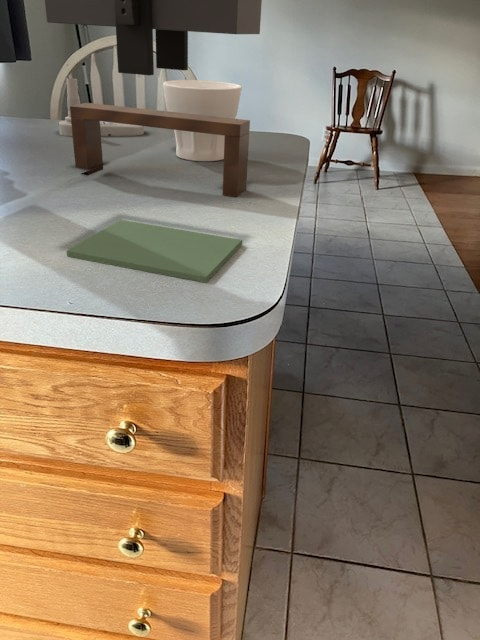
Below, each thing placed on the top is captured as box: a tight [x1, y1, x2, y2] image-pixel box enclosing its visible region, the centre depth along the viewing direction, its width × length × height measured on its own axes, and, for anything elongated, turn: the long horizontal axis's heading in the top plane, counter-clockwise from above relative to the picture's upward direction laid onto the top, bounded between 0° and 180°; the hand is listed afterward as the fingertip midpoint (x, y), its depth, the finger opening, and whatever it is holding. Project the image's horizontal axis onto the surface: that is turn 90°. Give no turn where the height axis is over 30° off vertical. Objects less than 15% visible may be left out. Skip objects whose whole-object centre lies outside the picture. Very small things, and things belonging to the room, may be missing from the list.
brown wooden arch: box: [70, 102, 251, 198], centre depth 73 cm, size 24×4×9 cm, turn 72°
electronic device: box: [58, 77, 145, 137], centre depth 97 cm, size 5×10×15 cm
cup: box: [162, 79, 243, 163], centre depth 88 cm, size 12×12×11 cm
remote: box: [44, 0, 263, 35], centre depth 43 cm, size 16×6×3 cm, turn 72°
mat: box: [66, 219, 243, 283], centre depth 53 cm, size 14×10×1 cm
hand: (155, 70), depth 45 cm, fingers closed on remote, 6 cm apart
